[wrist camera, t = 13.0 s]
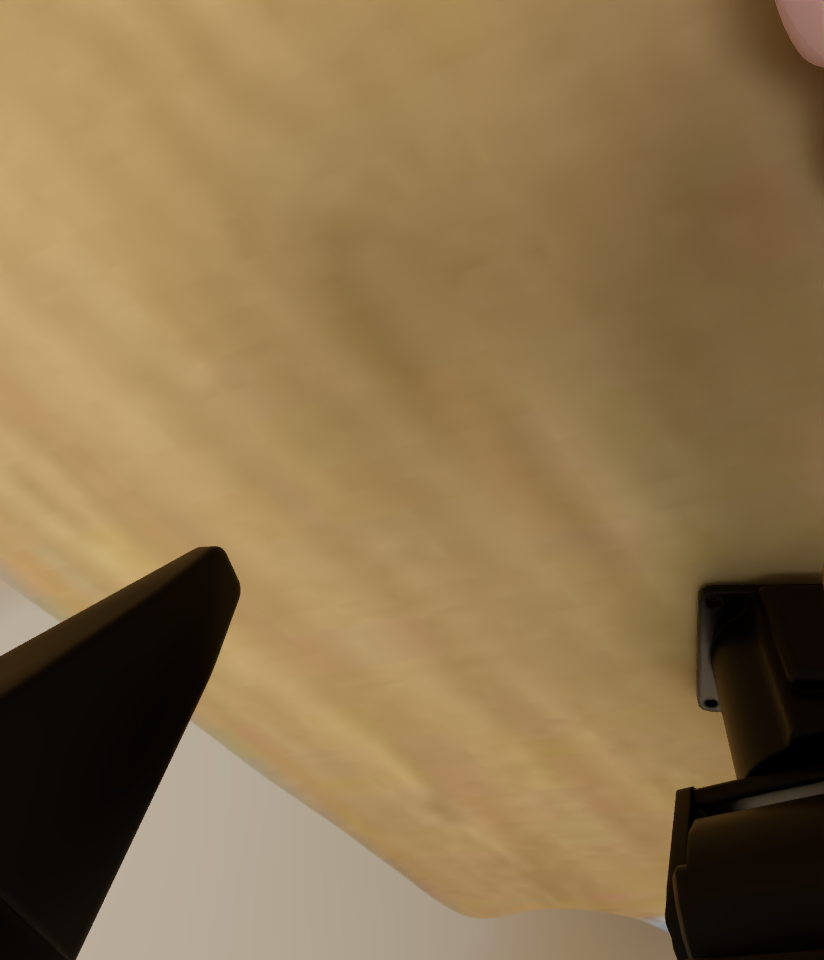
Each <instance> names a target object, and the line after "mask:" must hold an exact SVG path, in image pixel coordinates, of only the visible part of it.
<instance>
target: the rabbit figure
mask: <svg viewBox="0 0 824 960" xmlns="http://www.w3.org/2000/svg"><path fill="white" fill-rule="evenodd" d="M774 1H775V4H776V6H777V9H778V12H779V15H780V17H781V20H782V23H783V26H784V28H785V30H786V32H787V34H788V36H789V37H790V39H791V41H792V43H793V45H794V46H795V48H796V49H797V51H798V52H799V54H800V55H801V56H802V57H803V58H804V59H805V60H807V61H808V62H810V63H812V64H814V65H816V66H819V67H823V68H824V0H774Z"/></svg>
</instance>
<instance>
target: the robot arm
mask: <svg viewBox="0 0 824 960" xmlns="http://www.w3.org/2000/svg"><path fill="white" fill-rule="evenodd" d="M822 581H823V584H777V585H711V586H706V587H704V588H702V589H701V590H700V591H699V593H698V618H697V700H698V704H699V706H700V707H701V708H702V709H704V710H706V711H711V712H722V716H723V720H724V724H725V729H726V733H727V738H728V742H729V746H730V751H731V755H732V760H733V764H734V768H735V773H736V777H737V780H733V781H729V782H724V783H720V784H716V785H711V786H707V787H702V788H698V789H695V788H694V787H689V788H684V789H680V790H677V792H676V801H675V811H674V821H673V831H672V841H671V851H670V860H669V870H668V880H667V896H666V910H665V920H666V925H667V928H668V931H669V933H670V935H671V938H672V944H673V949H674V952H675V955H676V957H677V960H824V566H823V574H822ZM239 597H240V583H239V580H238V578H237V576H236V574H235V572H234V569H233V567H232V565H231V563H230V561H229V558H228V556H227V554H226V552H225V551H224V550H223V549H222V548H220V547H218V546H211V547H198V548H196V549H194V550H192V551H190V552H188V553H186V554H185V555H183V556H181V557H179V558H177V559H175V560H174V561H172V562H170V563H168V564H166V565H165V566H163V567H161V568H159V569H157V570H156V571H154V572H152V573H150V574H148V575H147V576H145V577H143V578H141V579H139V580H137V581H136V582H134V583H132V584H130V585H128V586H127V587H125V588H123V589H121V590H119V591H118V592H116V593H114V594H112V595H110V596H108V597H107V598H105V599H103V600H101V601H99V602H98V603H96V604H94V605H92V606H90V607H89V608H87V609H85V610H83V611H81V612H80V613H78V614H76V615H74V616H72V617H70V618H69V619H67V620H65V621H63V622H61V623H60V624H58V625H56V626H54V627H52V628H51V629H49V630H47V631H46V632H43V633H42V634H40V635H38V636H36V637H34V638H32V639H31V640H29V641H27V642H25V643H24V644H22V645H20V646H18V647H16V648H14V649H13V650H11V651H9V652H7V653H5V654H4V655H2V656H0V960H76V958H77V956H78V954H79V952H80V950H81V948H82V946H83V943H84V941H85V939H86V937H87V935H88V933H89V931H90V929H91V926H92V924H93V922H94V920H95V918H96V916H97V914H98V912H99V910H100V908H101V906H102V904H103V901H104V899H105V897H106V895H107V893H108V891H109V889H110V887H111V884H112V882H113V880H114V878H115V876H116V874H117V872H118V870H119V868H120V866H121V864H122V861H123V859H124V857H125V855H126V853H127V851H128V849H129V847H130V845H131V843H132V840H133V838H134V836H135V834H136V832H137V830H138V828H139V826H140V824H141V822H142V819H143V817H144V815H145V813H146V811H147V809H148V807H149V805H150V803H151V801H152V798H153V796H154V794H155V792H156V790H157V788H158V786H159V784H160V782H161V779H162V777H163V775H164V773H165V771H166V769H167V767H168V765H169V763H170V761H171V759H172V756H173V754H174V752H175V750H176V748H177V746H178V744H179V742H180V739H181V738H182V735H183V733H184V731H185V729H186V727H187V725H188V723H189V721H190V719H191V717H192V714H193V712H194V710H195V708H196V706H197V704H198V702H199V700H200V698H201V696H202V693H203V691H204V689H205V687H206V685H207V683H208V680H209V678H210V676H211V674H212V671H213V669H214V666H215V663H216V661H217V658H218V655H219V653H220V650H221V647H222V644H223V642H224V639H225V636H226V633H227V631H228V628H229V625H230V622H231V619H232V617H233V614H234V611H235V608H236V606H237V603H238V600H239ZM714 597H715V598H718V599H717V600H713V601H711V600H709V599H710V598H714ZM709 699H712V700H709Z"/></svg>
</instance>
